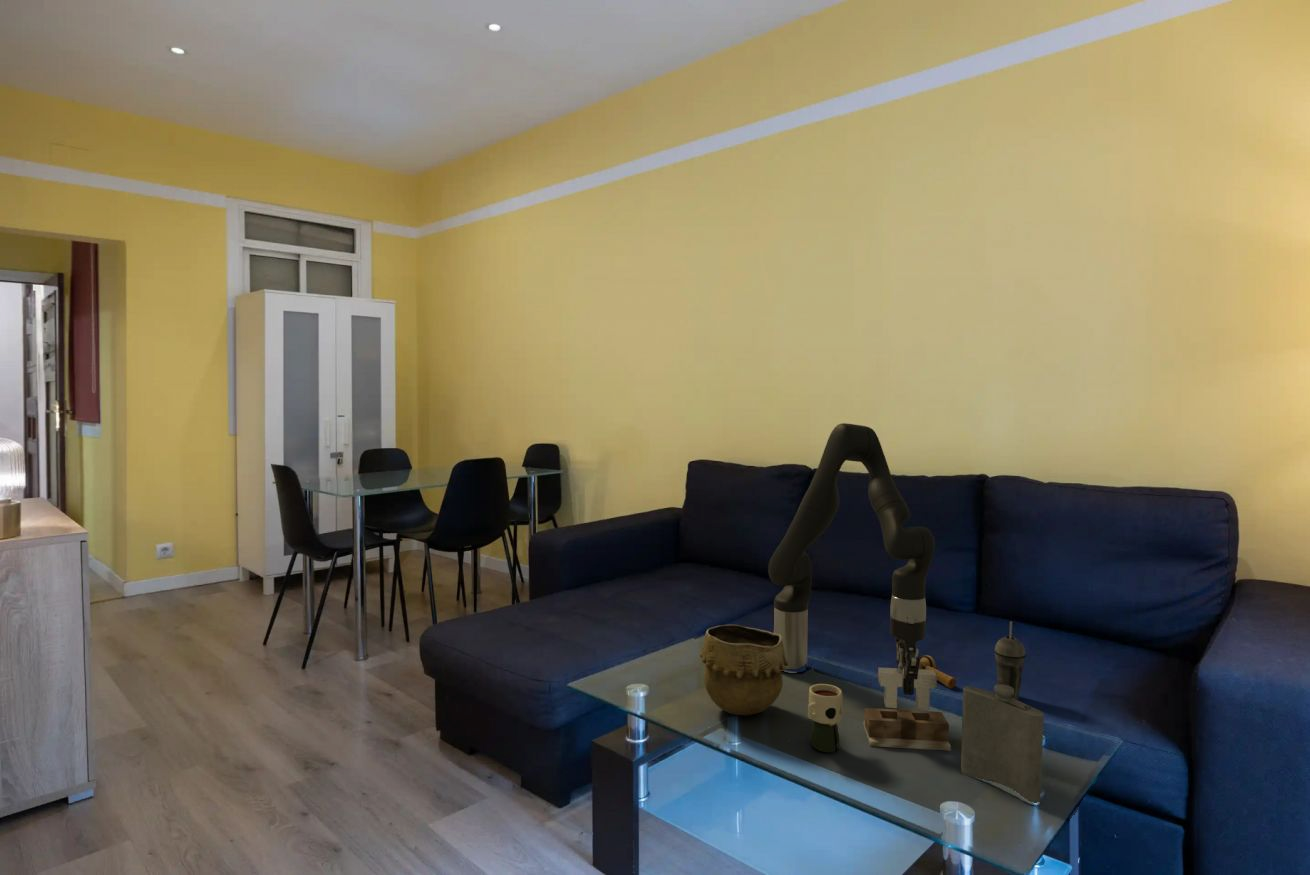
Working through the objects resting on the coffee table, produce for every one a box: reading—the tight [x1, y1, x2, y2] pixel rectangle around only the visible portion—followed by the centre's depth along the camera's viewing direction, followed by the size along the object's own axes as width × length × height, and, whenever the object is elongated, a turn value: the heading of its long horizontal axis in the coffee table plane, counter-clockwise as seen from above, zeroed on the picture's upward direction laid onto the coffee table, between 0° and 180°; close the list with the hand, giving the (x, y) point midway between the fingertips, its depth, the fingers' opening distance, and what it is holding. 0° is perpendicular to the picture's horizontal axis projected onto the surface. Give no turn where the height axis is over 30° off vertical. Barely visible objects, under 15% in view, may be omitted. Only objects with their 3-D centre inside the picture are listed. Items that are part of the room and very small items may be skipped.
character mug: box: [807, 683, 844, 753], centre depth 159 cm, size 11×7×13 cm, turn 127°
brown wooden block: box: [862, 707, 952, 752], centre depth 163 cm, size 17×10×5 cm, turn 83°
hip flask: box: [960, 683, 1045, 803], centre depth 143 cm, size 16×4×20 cm, turn 35°
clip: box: [877, 667, 938, 711], centre depth 163 cm, size 12×3×8 cm, turn 83°
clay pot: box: [699, 624, 789, 716], centre depth 176 cm, size 21×21×20 cm
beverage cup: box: [993, 620, 1027, 701], centre depth 184 cm, size 7×7×20 cm
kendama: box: [917, 654, 957, 689], centre depth 198 cm, size 8×6×18 cm
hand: (906, 690), depth 163 cm, fingers closed on clip, 3 cm apart
